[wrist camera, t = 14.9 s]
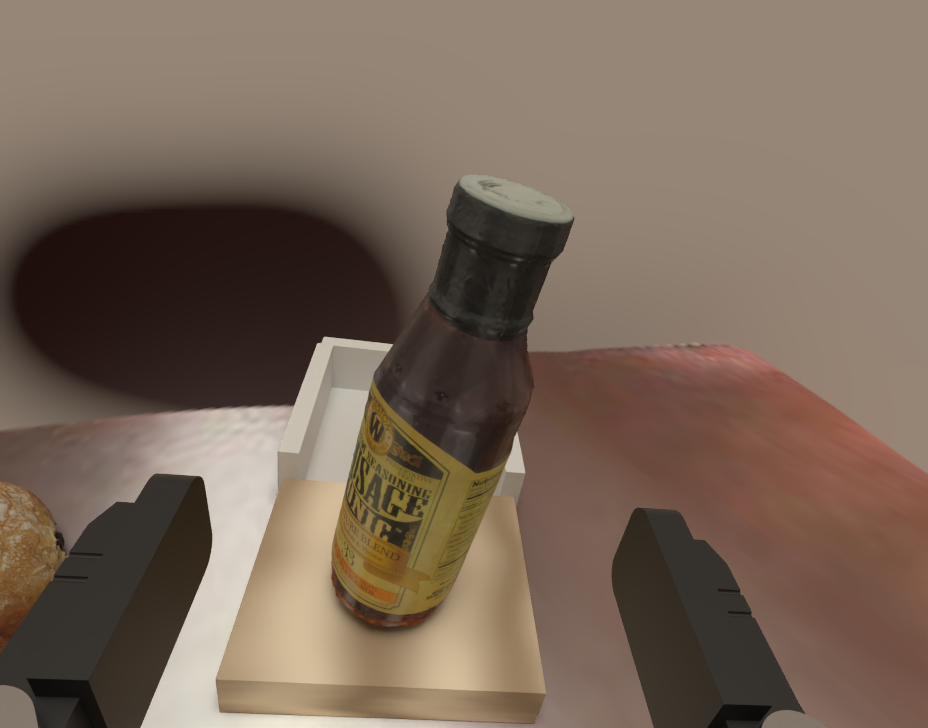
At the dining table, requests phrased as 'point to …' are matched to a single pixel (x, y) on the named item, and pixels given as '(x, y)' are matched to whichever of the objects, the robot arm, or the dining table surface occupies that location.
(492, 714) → the board
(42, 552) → the bread roll
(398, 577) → the sauce bottle
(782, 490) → the dining table surface
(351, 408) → the box
